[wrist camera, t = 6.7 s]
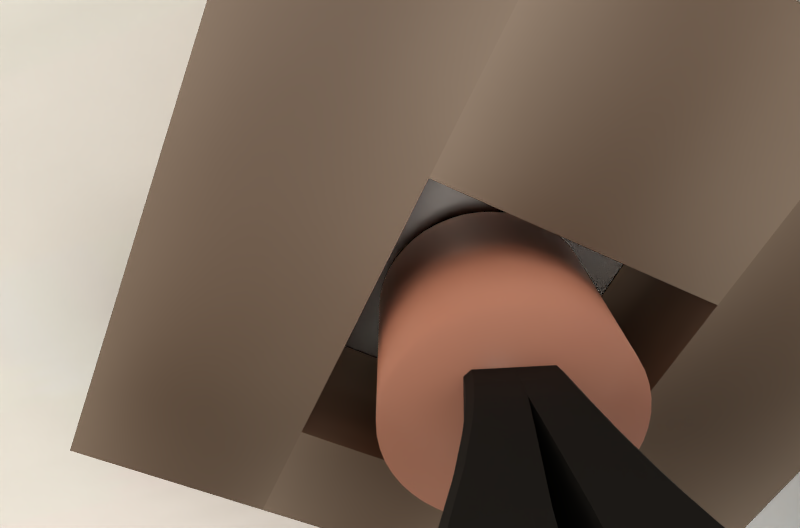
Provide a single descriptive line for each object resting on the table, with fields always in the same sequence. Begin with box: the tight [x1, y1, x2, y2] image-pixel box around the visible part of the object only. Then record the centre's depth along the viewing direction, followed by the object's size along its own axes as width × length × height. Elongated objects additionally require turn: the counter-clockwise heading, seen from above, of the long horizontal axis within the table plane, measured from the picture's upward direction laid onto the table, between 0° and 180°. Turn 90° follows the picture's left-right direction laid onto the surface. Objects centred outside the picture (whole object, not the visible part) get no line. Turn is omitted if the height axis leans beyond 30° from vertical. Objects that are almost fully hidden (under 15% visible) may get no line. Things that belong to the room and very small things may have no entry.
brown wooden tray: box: [70, 0, 800, 528], centre depth 10 cm, size 12×18×3 cm, turn 155°
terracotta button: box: [376, 212, 652, 511], centre depth 11 cm, size 4×4×3 cm
